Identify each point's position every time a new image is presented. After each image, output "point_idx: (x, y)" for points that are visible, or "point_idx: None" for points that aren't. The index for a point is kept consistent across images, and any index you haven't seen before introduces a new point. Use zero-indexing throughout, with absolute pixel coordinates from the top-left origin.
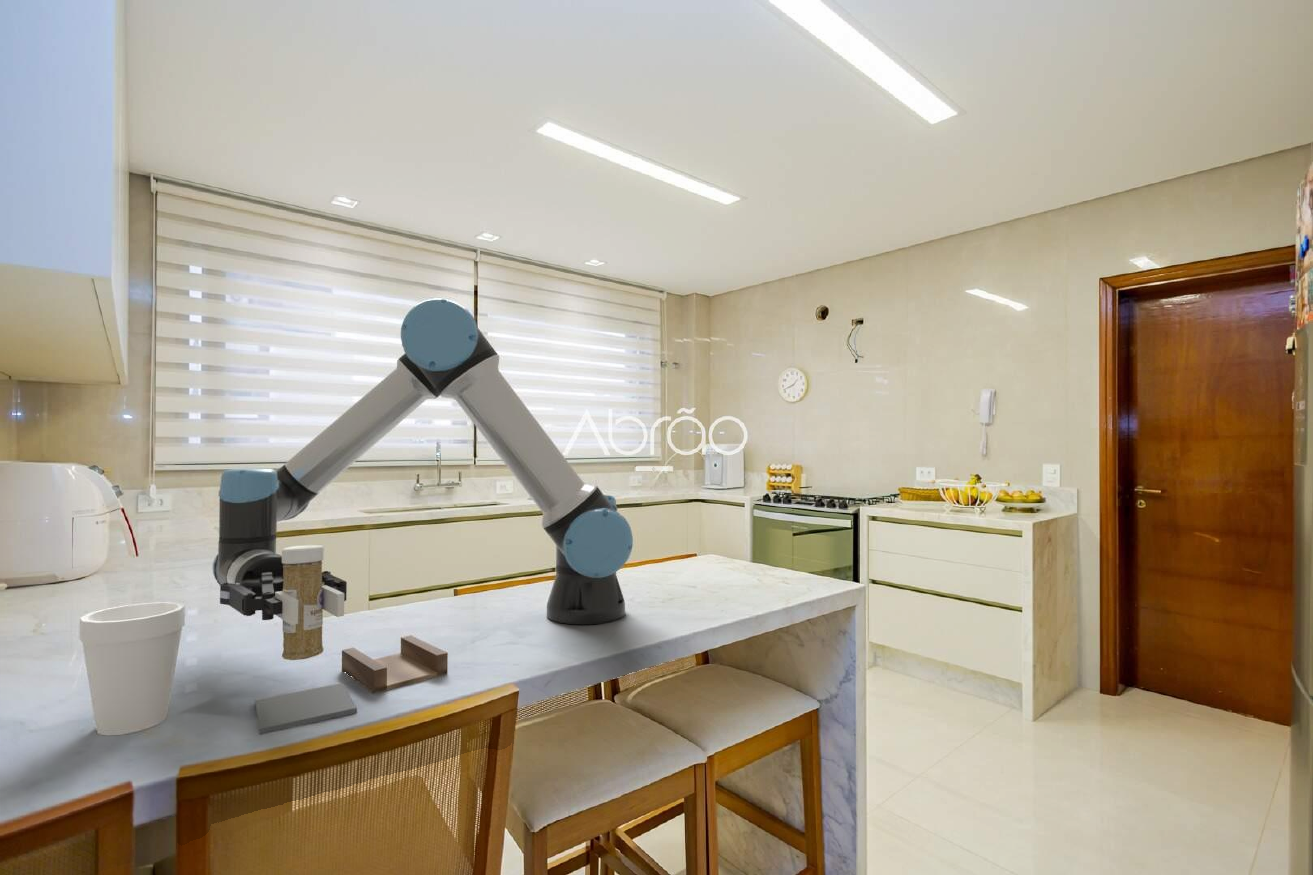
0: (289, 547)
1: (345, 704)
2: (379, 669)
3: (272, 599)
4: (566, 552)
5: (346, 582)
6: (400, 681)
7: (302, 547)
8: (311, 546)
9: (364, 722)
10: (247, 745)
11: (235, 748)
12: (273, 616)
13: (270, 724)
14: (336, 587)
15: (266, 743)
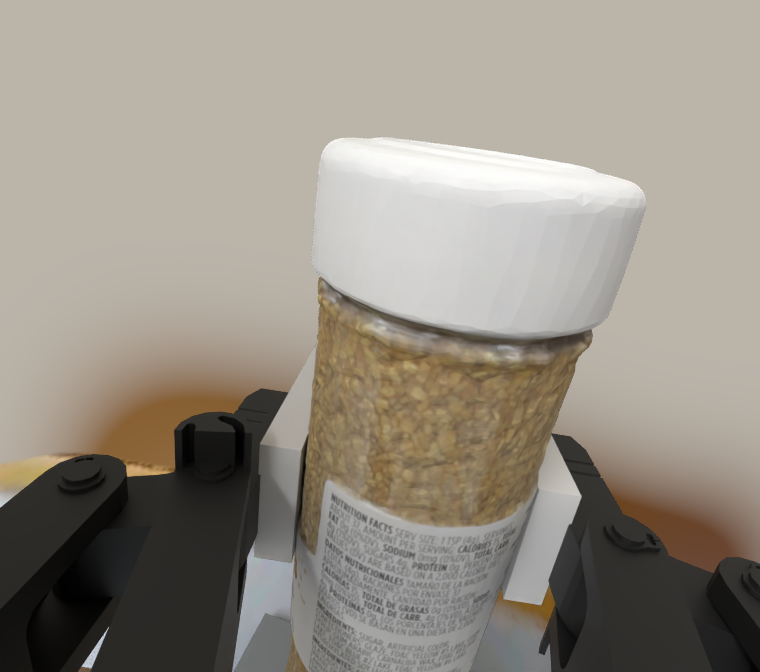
0: (587, 168)
1: (265, 663)
2: (90, 668)
3: (580, 488)
4: None
5: (68, 462)
6: None
7: (498, 154)
8: (438, 144)
9: (293, 561)
10: (522, 661)
11: (547, 668)
12: (542, 644)
13: None
14: (150, 492)
15: (484, 634)
